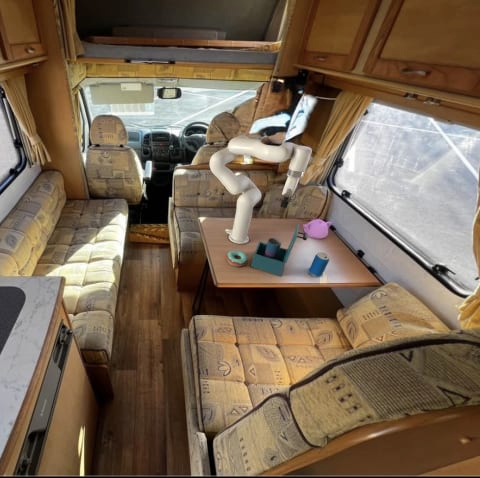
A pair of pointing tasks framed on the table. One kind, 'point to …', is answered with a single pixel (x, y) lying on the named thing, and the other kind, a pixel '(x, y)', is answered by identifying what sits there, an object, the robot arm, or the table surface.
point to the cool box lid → (294, 241)
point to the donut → (237, 262)
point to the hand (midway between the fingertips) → (285, 203)
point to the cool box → (269, 260)
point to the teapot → (317, 228)
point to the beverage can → (319, 264)
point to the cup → (272, 248)
